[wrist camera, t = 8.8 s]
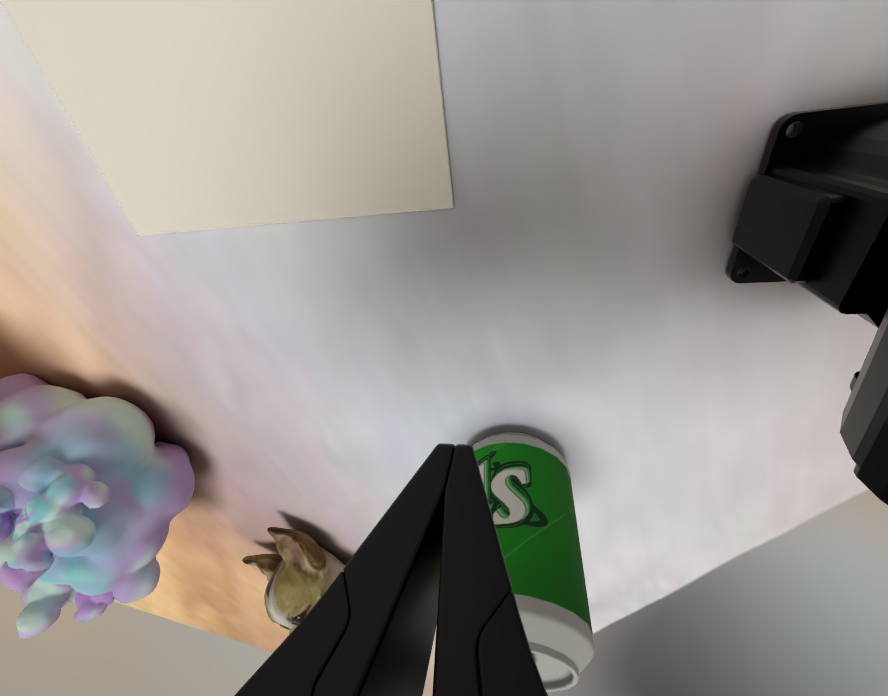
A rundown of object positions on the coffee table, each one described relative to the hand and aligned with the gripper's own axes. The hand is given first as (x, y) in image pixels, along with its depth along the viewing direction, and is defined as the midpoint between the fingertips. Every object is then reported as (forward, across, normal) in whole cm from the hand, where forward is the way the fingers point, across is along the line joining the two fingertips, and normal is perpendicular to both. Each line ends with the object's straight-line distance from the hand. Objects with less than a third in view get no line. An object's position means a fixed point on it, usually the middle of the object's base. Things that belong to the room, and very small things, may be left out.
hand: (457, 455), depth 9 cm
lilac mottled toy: (+12, +36, +14) cm, 41 cm away
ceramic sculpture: (+12, +20, +33) cm, 40 cm away
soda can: (+12, -1, +15) cm, 19 cm away
